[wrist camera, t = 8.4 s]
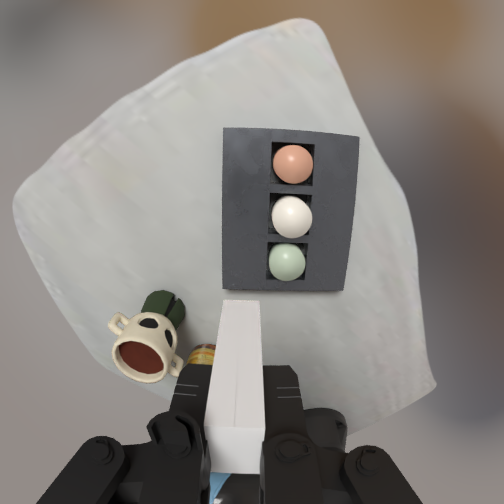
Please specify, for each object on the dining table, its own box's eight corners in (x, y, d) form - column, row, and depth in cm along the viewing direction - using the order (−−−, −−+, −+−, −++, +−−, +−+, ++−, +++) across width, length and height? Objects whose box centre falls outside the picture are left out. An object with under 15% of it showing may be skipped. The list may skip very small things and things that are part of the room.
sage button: (299, 270, 40) (303, 281, 37) (267, 269, 40) (268, 280, 37) (302, 239, 38) (306, 247, 35) (268, 238, 38) (270, 246, 35)
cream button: (305, 230, 37) (310, 238, 33) (270, 229, 36) (271, 237, 33) (307, 195, 35) (313, 200, 32) (271, 194, 35) (273, 198, 32)
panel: (337, 281, 41) (343, 290, 38) (224, 279, 41) (222, 288, 38) (351, 137, 34) (359, 136, 32) (225, 129, 34) (223, 127, 31)
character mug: (207, 314, 43) (193, 373, 31) (180, 341, 45) (161, 400, 32) (149, 268, 40) (113, 315, 28) (125, 299, 42) (89, 349, 30)
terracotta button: (306, 181, 36) (311, 184, 33) (271, 179, 36) (273, 182, 33) (308, 146, 34) (313, 146, 31) (272, 144, 34) (274, 144, 31)
